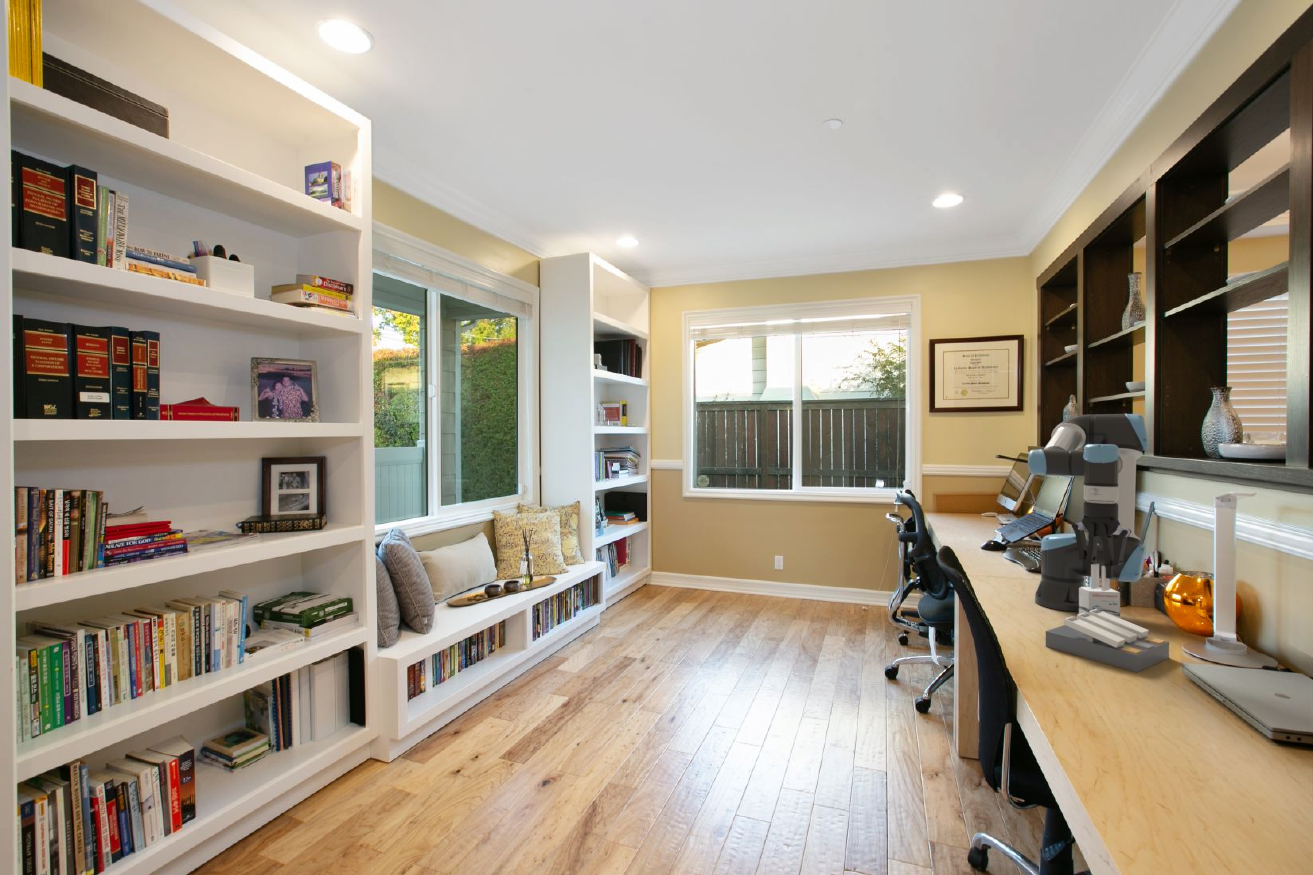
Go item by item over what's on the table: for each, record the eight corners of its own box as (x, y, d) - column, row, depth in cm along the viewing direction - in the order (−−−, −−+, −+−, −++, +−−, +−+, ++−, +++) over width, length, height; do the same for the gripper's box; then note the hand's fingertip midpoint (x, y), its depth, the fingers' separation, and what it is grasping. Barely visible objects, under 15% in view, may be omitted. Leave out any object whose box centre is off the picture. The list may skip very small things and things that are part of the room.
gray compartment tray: (1079, 634, 166) (1079, 615, 166) (1168, 657, 149) (1169, 636, 149) (1045, 646, 157) (1045, 625, 157) (1136, 672, 140) (1136, 649, 140)
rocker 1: (1071, 621, 156) (1072, 615, 156) (1124, 644, 146) (1125, 638, 145) (1063, 623, 154) (1064, 618, 153) (1116, 647, 144) (1118, 641, 143)
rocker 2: (1083, 617, 159) (1084, 611, 159) (1135, 639, 149) (1137, 633, 149) (1075, 619, 157) (1077, 614, 157) (1128, 642, 147) (1130, 636, 147)
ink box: (1088, 632, 168) (1088, 591, 168) (1077, 626, 173) (1077, 586, 173) (1121, 633, 167) (1121, 592, 167) (1109, 627, 172) (1109, 587, 172)
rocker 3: (1095, 613, 162) (1096, 608, 162) (1147, 635, 152) (1149, 629, 152) (1087, 616, 160) (1089, 610, 160) (1140, 638, 150) (1142, 632, 150)
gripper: (1063, 499, 164) (1062, 584, 164) (1127, 505, 151) (1126, 597, 151) (1076, 498, 168) (1076, 581, 168) (1140, 503, 155) (1139, 593, 155)
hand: (1100, 588), depth 160 cm, fingers open, 2 cm apart
